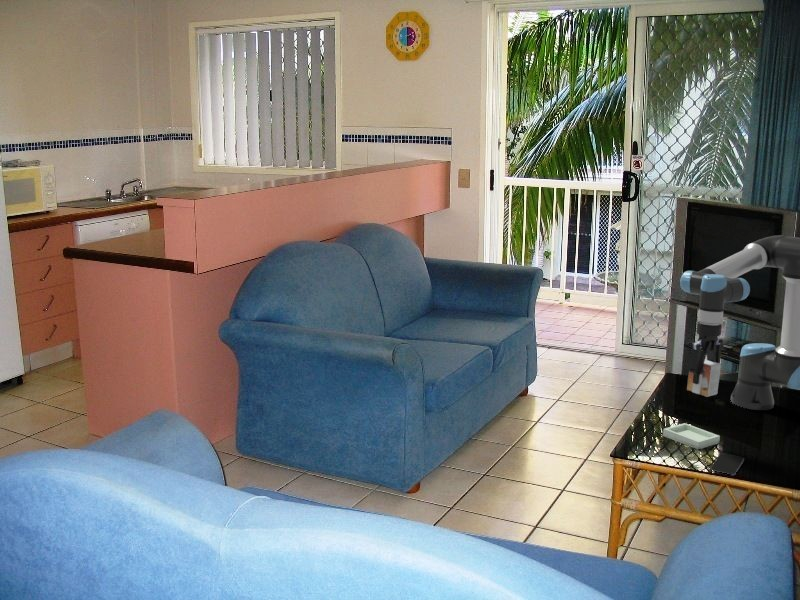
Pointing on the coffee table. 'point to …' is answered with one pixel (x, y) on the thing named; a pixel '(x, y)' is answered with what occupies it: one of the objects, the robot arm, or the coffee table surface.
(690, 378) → the small box
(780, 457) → the coffee table surface
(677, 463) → the coffee table surface
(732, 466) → the smartphone
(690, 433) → the tray
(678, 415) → the coffee table surface
